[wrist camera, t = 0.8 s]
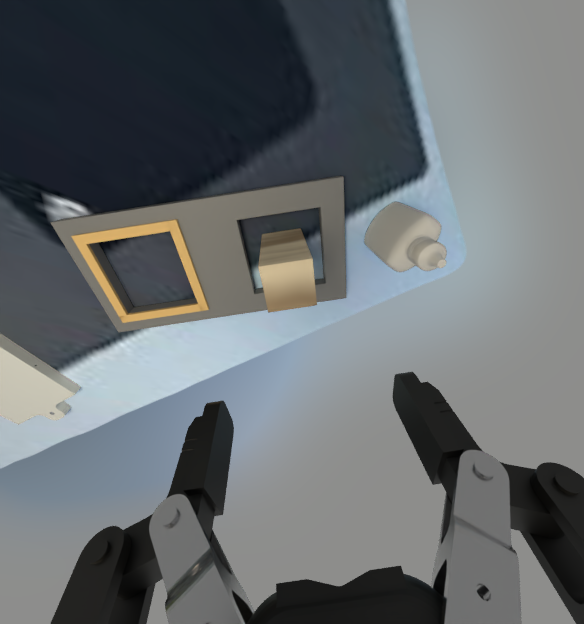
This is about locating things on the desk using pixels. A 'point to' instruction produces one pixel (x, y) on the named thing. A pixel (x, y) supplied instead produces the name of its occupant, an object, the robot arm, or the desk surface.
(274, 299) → the plug
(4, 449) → the desk surface
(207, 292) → the dock
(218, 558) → the robot arm
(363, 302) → the desk surface
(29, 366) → the mounting plate
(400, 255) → the eye dropper bottle
